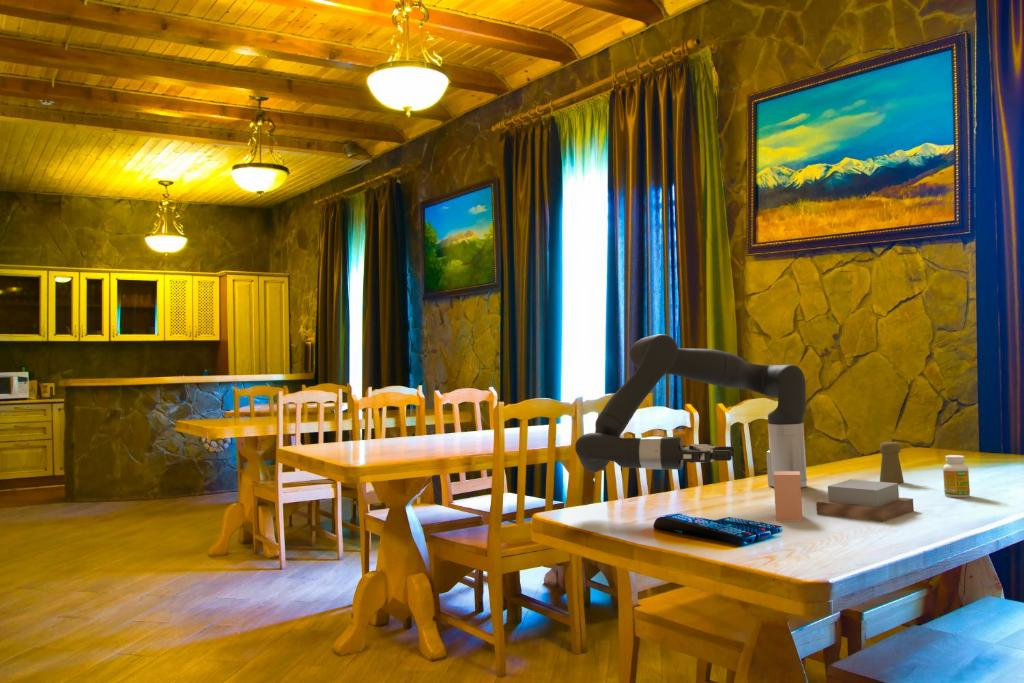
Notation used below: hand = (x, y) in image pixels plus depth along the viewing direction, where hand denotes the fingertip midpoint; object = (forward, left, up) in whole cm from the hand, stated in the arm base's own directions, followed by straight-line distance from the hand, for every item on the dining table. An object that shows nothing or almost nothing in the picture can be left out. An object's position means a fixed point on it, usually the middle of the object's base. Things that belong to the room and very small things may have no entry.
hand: (732, 453), depth 182 cm
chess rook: (+7, +64, -15) cm, 66 cm away
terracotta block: (+10, +6, -14) cm, 18 cm away
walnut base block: (+20, +21, -15) cm, 32 cm away
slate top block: (+20, +21, -12) cm, 31 cm away
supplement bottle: (+28, +52, -15) cm, 61 cm away
